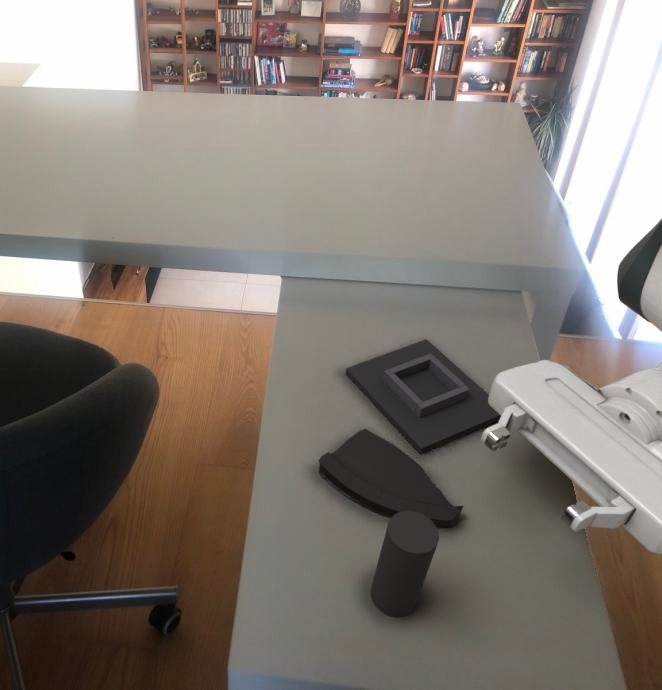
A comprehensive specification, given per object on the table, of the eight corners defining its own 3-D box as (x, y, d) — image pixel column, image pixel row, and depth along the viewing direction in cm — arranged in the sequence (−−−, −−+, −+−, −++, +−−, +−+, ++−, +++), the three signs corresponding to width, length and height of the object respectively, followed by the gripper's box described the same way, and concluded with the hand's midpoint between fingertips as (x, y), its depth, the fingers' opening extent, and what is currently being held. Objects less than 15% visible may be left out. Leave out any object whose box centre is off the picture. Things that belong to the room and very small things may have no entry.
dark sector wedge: (421, 557, 65) (424, 547, 64) (313, 471, 73) (314, 461, 72) (472, 507, 69) (476, 498, 68) (364, 431, 77) (366, 421, 76)
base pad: (505, 417, 78) (511, 402, 76) (419, 454, 74) (424, 439, 72) (424, 344, 87) (428, 329, 86) (345, 374, 84) (347, 358, 82)
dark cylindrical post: (425, 602, 61) (450, 537, 55) (392, 625, 60) (413, 562, 53) (393, 568, 64) (413, 502, 57) (361, 589, 62) (377, 525, 56)
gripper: (562, 333, 69) (452, 377, 64) (765, 483, 55) (642, 551, 50) (543, 378, 73) (438, 422, 69) (727, 528, 59) (610, 595, 55)
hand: (526, 478), depth 59 cm, fingers open, 8 cm apart
